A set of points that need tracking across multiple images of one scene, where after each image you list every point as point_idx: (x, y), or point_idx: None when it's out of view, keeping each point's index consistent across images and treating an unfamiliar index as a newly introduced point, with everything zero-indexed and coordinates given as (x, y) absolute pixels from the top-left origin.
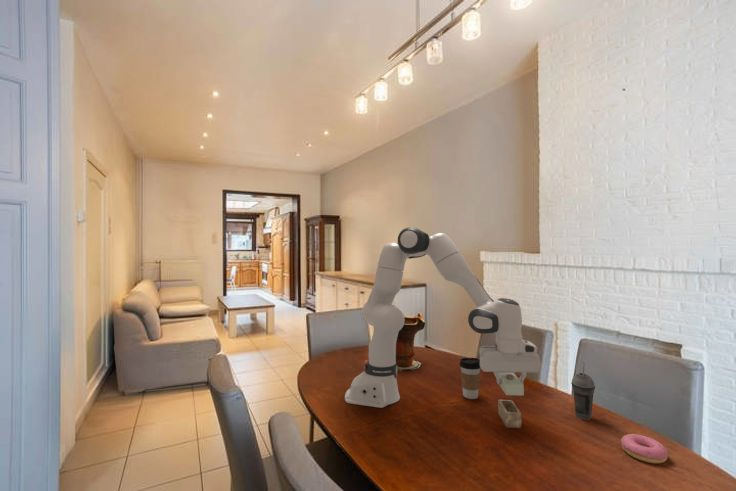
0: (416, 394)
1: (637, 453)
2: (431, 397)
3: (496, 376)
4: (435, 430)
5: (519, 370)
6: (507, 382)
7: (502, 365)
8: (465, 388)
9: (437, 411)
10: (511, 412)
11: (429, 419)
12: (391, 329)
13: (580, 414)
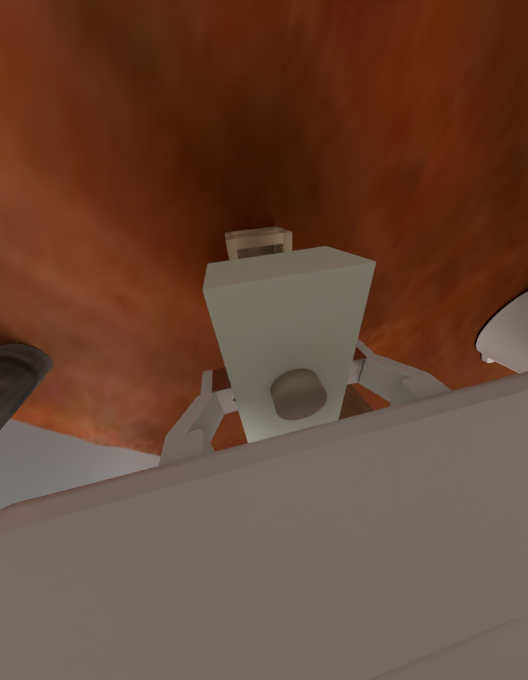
0: (436, 352)
1: None
2: (411, 349)
3: (403, 366)
4: (518, 144)
5: (236, 467)
6: (339, 314)
7: (486, 482)
8: (350, 384)
9: (435, 285)
10: (267, 239)
11: (485, 229)
12: None
13: (17, 355)
